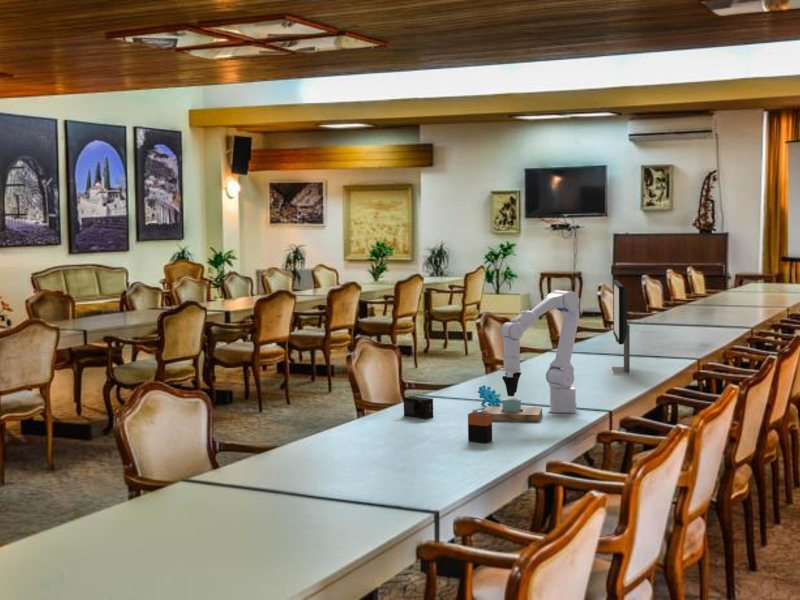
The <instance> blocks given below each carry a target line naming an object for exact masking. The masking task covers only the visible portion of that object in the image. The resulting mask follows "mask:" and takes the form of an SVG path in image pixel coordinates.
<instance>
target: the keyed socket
mask: <svg viewBox="0 0 800 600" xmlns="http://www.w3.org/2000/svg"><path fill="white" fill-rule="evenodd" d="M484 410H486V411H488V412H487V413H491V414H492V422H520V423H521V422H523V423H524V422H525V423H526V422H527V423H540V420H541V418H542V415H543V407H540V406H539V407H536V406H535V407H534V406H532V407H531V406H528V407H527V406H521V412H503V406H493V405H491V406H489V405H488V406H485V408H484Z"/></svg>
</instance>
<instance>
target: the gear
mask: <svg viewBox="0 0 800 600" xmlns="http://www.w3.org/2000/svg"><path fill="white" fill-rule="evenodd" d="M491 389H492V387H490V386H486V385H482V386H479V387H478V390H477V393H478V394H479V398H480V399H483V400H482V401H481V403H480V404H481V406H484V405H485V404H486V403H487V402H488V403H487V405H488V406H496V407H500V406H501V401H502V399H500V397H501V395H502V394H501V393H498V394H496V392H497V391H496V390H495V389H493V390H491Z"/></svg>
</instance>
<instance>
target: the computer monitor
mask: <svg viewBox="0 0 800 600" xmlns="http://www.w3.org/2000/svg"><path fill="white" fill-rule="evenodd" d="M612 281H613V282H612V284H613V285H612V288H613V289H612V290H613V291H612V294H613V295H612V296H613V297H612V301H613V303H612V304H613V305H612V309H613V310H612V311H613V313H612V314H613V315H612V317H613V318H612V319H613V320H612V322H613V323H612V327H613V329H612V331H613V332H612V333H613V336H614V338H615V339H614V340H615V342H617V343H618V345H623V366H610V367H609V370H610V373H611V374H612V375H614V376H631V375H632V371H631V370H630V362H631V361H630V359H631V357H630V353H631V351H630V349H631V347H630V339H631V338H630V335H631V333H630V330H631V329H630V323H628V291H627V289H626V288H625V287H624V286H623V284H622V283H621V282H620V281H619V280H617V279H614V280H612Z"/></svg>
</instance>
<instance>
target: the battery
mask: <svg viewBox="0 0 800 600" xmlns="http://www.w3.org/2000/svg"><path fill="white" fill-rule="evenodd" d="M487 412H488V411H486V410H485V409H484V410H481V411H478V410H477V409H473V410H472V412H470V413H468V414H467V440H468V442H470V443H478V444H479V443H480V444H488V443H490V442H492V441H493V421H492V414H491V413H487Z"/></svg>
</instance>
